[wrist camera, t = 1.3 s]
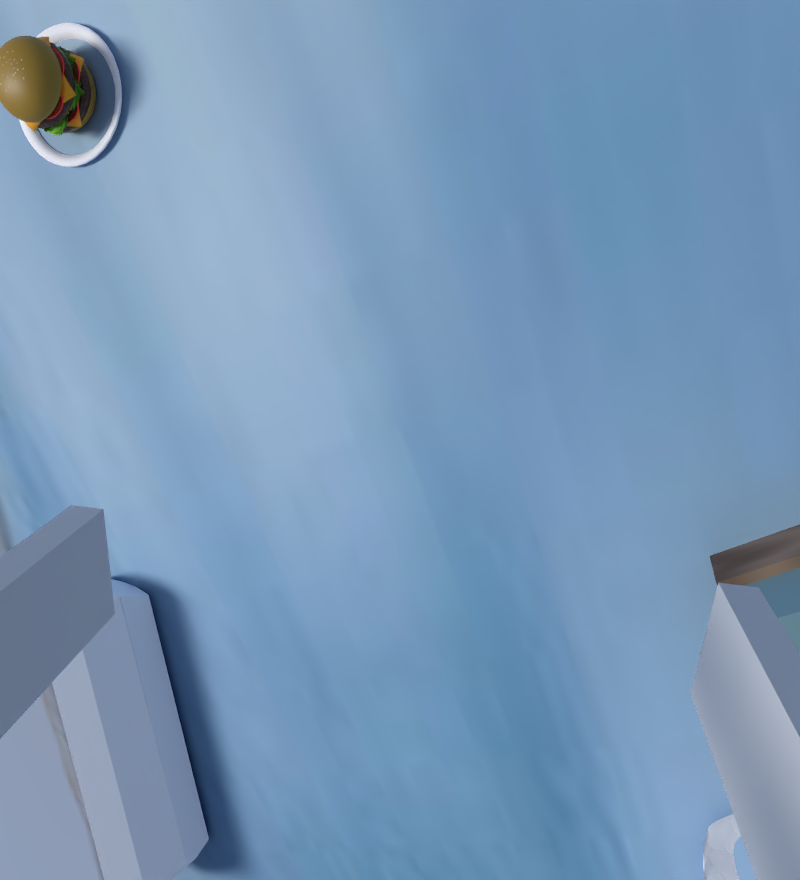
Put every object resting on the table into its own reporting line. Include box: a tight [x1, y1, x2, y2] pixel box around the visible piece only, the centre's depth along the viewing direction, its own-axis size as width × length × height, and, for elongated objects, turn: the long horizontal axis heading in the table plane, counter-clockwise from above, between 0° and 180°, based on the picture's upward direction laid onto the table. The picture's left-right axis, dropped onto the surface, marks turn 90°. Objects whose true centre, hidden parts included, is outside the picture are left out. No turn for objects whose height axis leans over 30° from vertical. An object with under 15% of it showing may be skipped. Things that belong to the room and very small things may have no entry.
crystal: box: [52, 579, 209, 880], centre depth 51 cm, size 7×7×24 cm
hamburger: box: [0, 22, 122, 167], centre depth 44 cm, size 12×12×6 cm
